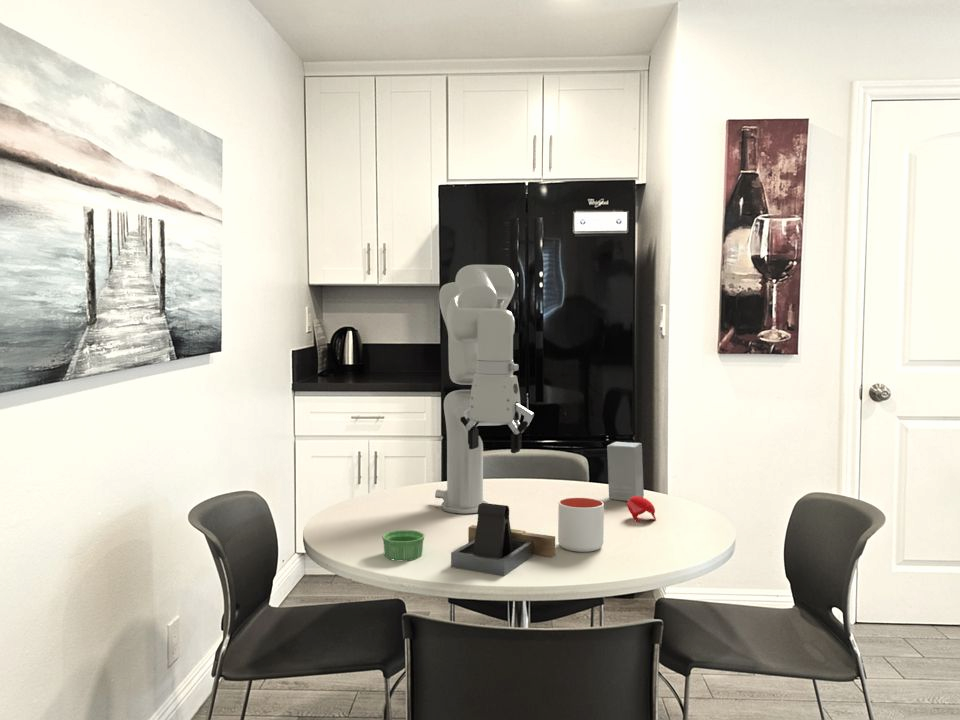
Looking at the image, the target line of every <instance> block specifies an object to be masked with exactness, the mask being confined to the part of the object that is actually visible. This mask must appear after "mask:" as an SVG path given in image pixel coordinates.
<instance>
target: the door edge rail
mask: <svg viewBox="0 0 960 720" xmlns="http://www.w3.org/2000/svg"><path fill="white" fill-rule="evenodd" d="M476 528H477V525H474V524H472V525H470V526H468V529H467V530H468V534H467V535H468V540H467V541H468V543H469V542H471V541H473V540H475V535H476ZM511 534H512V539H519V540H526V541H533V542H534V554H533V556H541V557H549V558H553V557H554V556H555V555H556V536H555V535H554V536H553V535H547V534H542V533H541V534H538V533H534V532H533V533H532V532H527V531H526V530H523V529H522V530H521V529H513V528H511Z"/></svg>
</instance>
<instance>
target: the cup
mask: <svg viewBox="0 0 960 720" xmlns="http://www.w3.org/2000/svg"><path fill="white" fill-rule="evenodd" d="M604 503H605V502H603V501H601V500H598V499H594V498H590V497H589V498H588V497H567V498H564V499H560V500H559V501H558V513H557V514H558V519H557V523H558V524H557V525H558V527H557V528H558V530H557V533H558V534H557V537H558V538H557V539H558V540H557V541H558V544H559V545H560V547H561V548H562V549H564V550H567V551H570V552H576V553H577V552H578V553H589V552H594V551H595V552H596V551H597V550H600V549H601V548H602V547H603V545H604V533H605V532H604V530H605V528H604V527H605V524H604V523H605V522H604V520H605V517H604V516H605V504H604Z"/></svg>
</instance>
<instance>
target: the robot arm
mask: <svg viewBox="0 0 960 720" xmlns="http://www.w3.org/2000/svg"><path fill="white" fill-rule="evenodd" d="M515 290H516V279H515V275H514V273H513V271H512V269H511V268H510V267H509V266H507V265H503V264H469V265H468V264H467V265H465V266H463V267H462V268H460V269H459V270H458V272H456V275H455V281H453V282H448V283H445V284H444V285H442V286H441V288H440V290H439V292H438V293H439V300H438V301H439V306H440V311H441V315H442V318H443V321H444V323H445V326H446V331H447V335H448V346H447V347H448V372H449V373H448V375H449V378H450V380H451V382H452V383H455V384H458V385H470V386H471V388H470V389H459V390H458V389H457V390H453V391H451V392H449V393H448V394H447V395H445V397H444V400H443V411H444V418H445V426H446V427H445V429H446V449H447V450H446V457H447V458H446V478H447V479H446V481H447V482H446V487H447V488H446V489H445V490H444V489H436V490H435V493H434V494H435V495H434V497H435V498H436V499H442V500H443V502H441V506H440V507H441V509H442V510H443V511H445V512H447V513H453V514H476V513H477V514H478V506H479V504H482V503H488V502H487V501H485V500H484V443H483V440H482V438H481V436H480V435H479V433H480V432H479V428H477V427H478V426H502V425H503V426H504V425H508V427H509V428H510V430H511V431H512V433H511V435H510V453H511V454H516V453H519V452H520V451H521V449H522V442H523V441H522V438H523V437H522V436H523V435H522V433H524V432H525V430H526V429H527V428H528V427H529V426H530V423H531V422H532V421H533V418H534V416H535V413H534V412H533V411H531V410H529V409H527V408H526V407H525V406H523V405H521V393H520V386H519V382H518V381H519V380H518V376H517V375H514V372H516V371H519V364H518V363H515V362H514V334H515V330H516V329H515V328H516V324H515V323H516V322H515V321H516V320H515V317H514V315H513V313H512V311H510V310H508V309H507V308H508V306H509V304H510V303H511V301H512V298H513V296H514V294H515ZM522 416H523V421H522V422H520V421H521V418H522Z"/></svg>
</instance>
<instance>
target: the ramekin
mask: <svg viewBox="0 0 960 720" xmlns="http://www.w3.org/2000/svg"><path fill="white" fill-rule="evenodd" d="M424 540H425V534H424V533H423V532H421V531H418V530H411V529H410V530H409V529H399V530H390V531H389V532H386V533H384V534H383V535H382V541H383V551H384V552H383V553H384V556H385V558H387V557H388V558H390V559H389V560H391V559H394V560H393V561H397V560H407V561H411V560H410V559H413V560H416V559H415V558H417V559H419V558H420V557H422V555H423V549H424V548H423V547H424ZM418 557H419V558H418ZM388 558H387V559H388Z"/></svg>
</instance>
